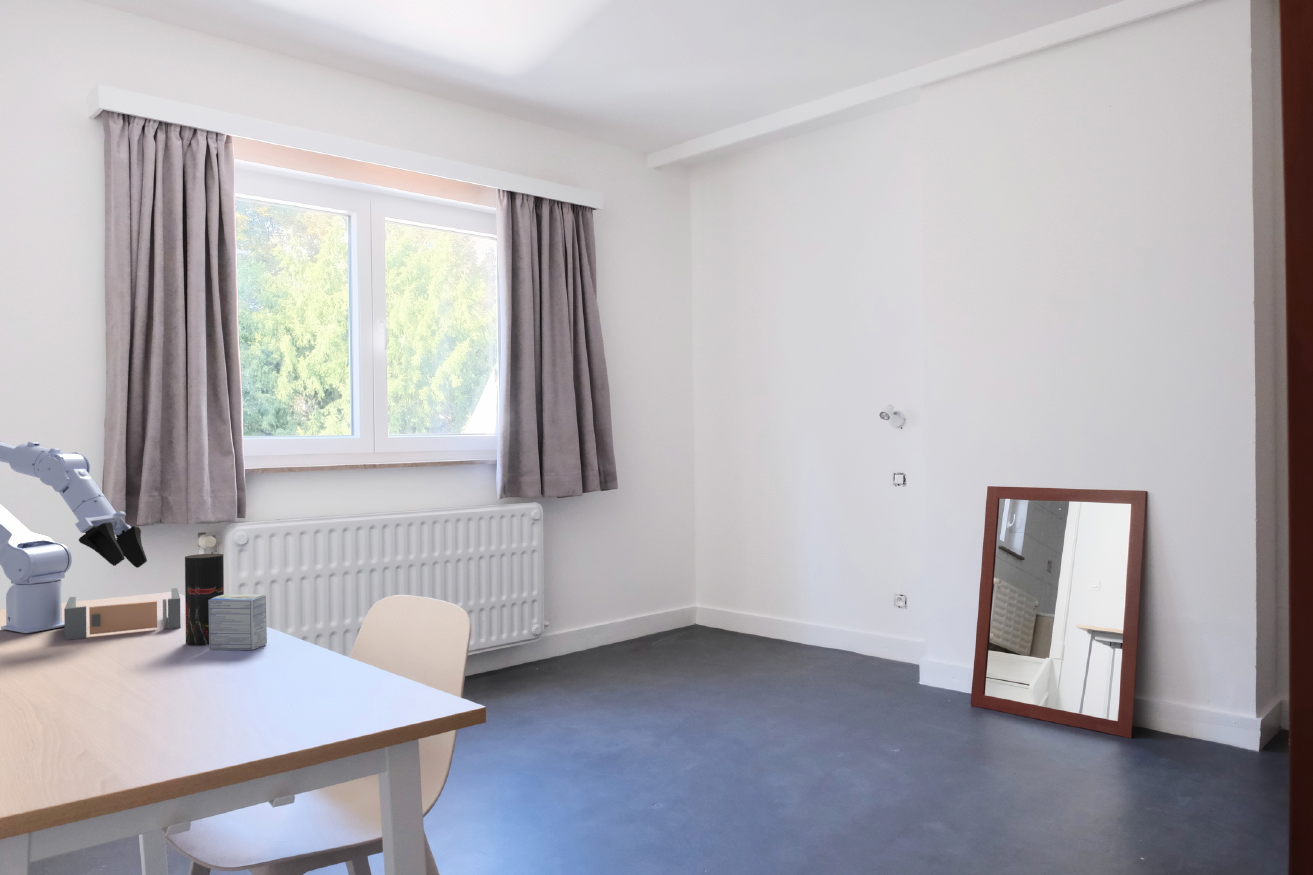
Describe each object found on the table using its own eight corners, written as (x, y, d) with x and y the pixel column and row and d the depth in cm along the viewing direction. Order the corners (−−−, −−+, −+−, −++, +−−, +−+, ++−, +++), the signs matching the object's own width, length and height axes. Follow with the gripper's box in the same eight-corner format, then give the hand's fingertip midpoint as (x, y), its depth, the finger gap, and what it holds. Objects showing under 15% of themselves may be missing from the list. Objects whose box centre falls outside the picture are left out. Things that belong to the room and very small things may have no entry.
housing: (69, 626, 165) (69, 597, 165) (177, 615, 174) (177, 587, 174) (64, 639, 153) (64, 608, 153) (180, 627, 162) (180, 598, 162)
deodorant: (212, 645, 147) (212, 557, 147) (178, 646, 147) (177, 558, 147) (230, 637, 153) (230, 553, 153) (197, 638, 153) (196, 553, 153)
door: (89, 633, 156) (89, 606, 156) (157, 626, 161) (156, 600, 161) (89, 635, 154) (89, 608, 154) (157, 627, 160) (156, 601, 160)
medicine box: (267, 644, 147) (267, 594, 147) (253, 651, 143) (252, 598, 143) (224, 644, 148) (223, 593, 148) (208, 650, 144) (207, 598, 144)
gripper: (85, 487, 155) (127, 546, 153) (130, 497, 169) (169, 552, 167) (51, 512, 153) (92, 572, 152) (98, 520, 168) (137, 575, 166)
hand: (130, 563), depth 159 cm, fingers open, 7 cm apart
